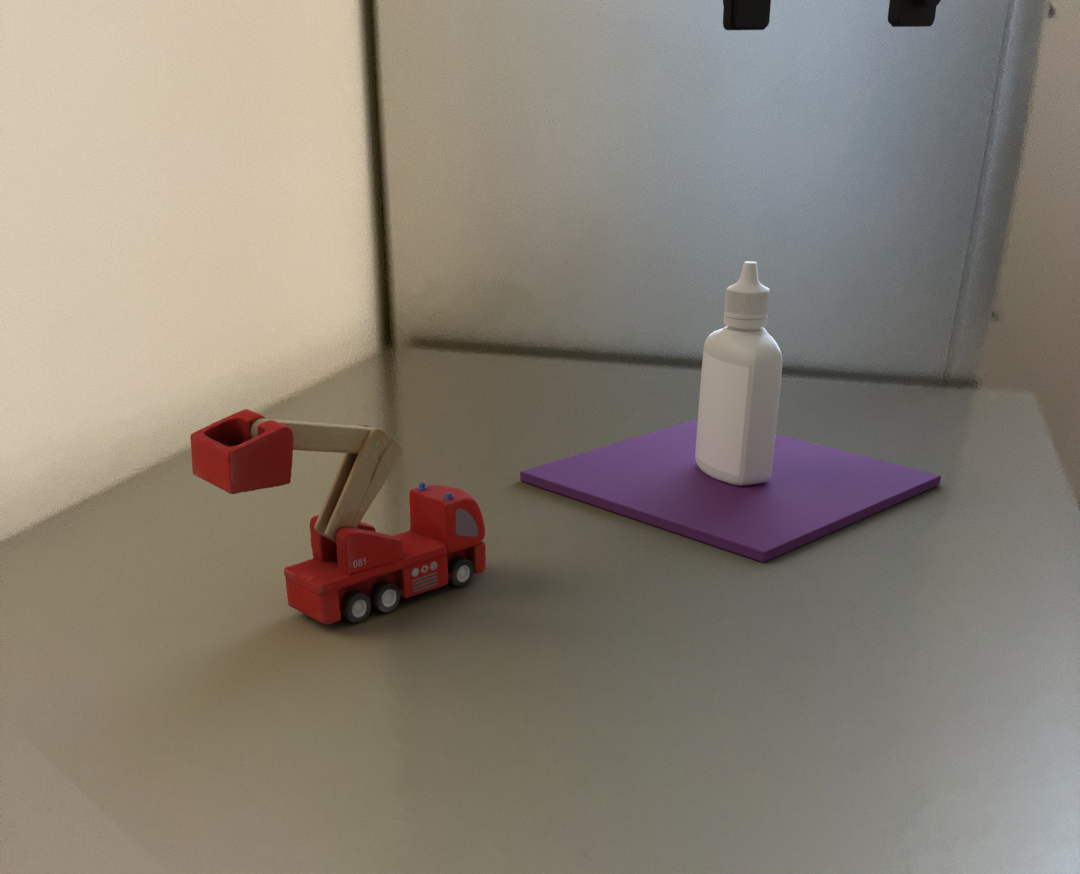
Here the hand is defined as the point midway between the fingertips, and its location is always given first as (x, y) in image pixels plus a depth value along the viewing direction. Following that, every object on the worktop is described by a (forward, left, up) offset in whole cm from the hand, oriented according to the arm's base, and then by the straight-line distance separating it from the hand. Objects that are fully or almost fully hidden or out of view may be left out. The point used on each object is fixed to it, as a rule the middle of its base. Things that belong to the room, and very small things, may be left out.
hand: (824, 28), depth 60 cm
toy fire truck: (+28, -3, -24) cm, 37 cm away
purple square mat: (+1, -2, -24) cm, 24 cm away
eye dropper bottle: (+1, -2, -23) cm, 23 cm away
